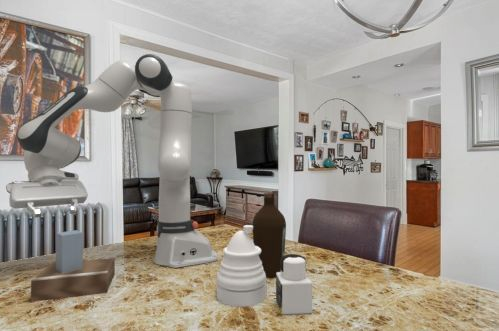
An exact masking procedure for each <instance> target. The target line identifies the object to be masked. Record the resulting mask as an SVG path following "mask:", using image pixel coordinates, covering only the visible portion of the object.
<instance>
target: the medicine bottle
mask: <svg viewBox="0 0 499 331" xmlns="http://www.w3.org/2000/svg"><path fill="white" fill-rule="evenodd" d="M275 283H276V284H275V300H276V304H277V306H278V309H279V311H280V313H281V315H302V314H303V315H304V314H313V281H312V280H311V279H310V278H309V277H308V275H307V259H306V257H305V256H303V255H301V254H296V253H287V254H285V255H284V256H282V257H281V272H277V273H276V277H275Z"/></svg>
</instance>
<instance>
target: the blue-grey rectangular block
mask: <svg viewBox="0 0 499 331" xmlns="http://www.w3.org/2000/svg"><path fill="white" fill-rule="evenodd" d="M55 235H56V236H55V237H56V238H55V243H56V244H55V252H56V253H55V263H56V270H58V271H59V272H60V273H62V274H63V273H67V272H71V271H75V270H79V269H83V261H84V254H83V253H84V232H82V231H80V230H77V229H75V230H67V231H60V232H56V234H55Z"/></svg>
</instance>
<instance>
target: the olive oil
mask: <svg viewBox="0 0 499 331" xmlns="http://www.w3.org/2000/svg"><path fill="white" fill-rule="evenodd" d="M263 193H264V194H263V195H264V197H263V205H262V207H261V208H260V209H259V210H258V211H257V212H256V213H255V214H254V216H253V219H252V226H253V230H252V238H253V239H252V241H253V243H254V245H255V246H258V247H259V248H261V253H260V254H259V258H260V260H261V261H262V266H263V269H264V272H265V274H266V278H276V273H277V272H281V257H282V256H284V255H286V253H285V252H286V237H287V236H286V235H287V222H286V218H285V216H284V214H283V213H282V212H281V211H280V210H279V209H278V208H277V206H276V205H275V193H274V192H263Z"/></svg>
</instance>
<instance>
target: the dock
mask: <svg viewBox="0 0 499 331" xmlns="http://www.w3.org/2000/svg"><path fill="white" fill-rule="evenodd" d="M115 259H116V257H111V258H99V259H87V260H83V269H79V270H75V271H71V272H67V273H63V274H62V273H60V272H59V271H58V270H56V262H53V263H50V264H49V265H48V266H47V267H45V268H44V269H43V270H42V271H40V273H39V274H37V275H36V276H35V277H33V278H31V279H30V302H38V301H39V302H40V301H47V300H54V299H56V300H57V299H63V298H64V299H65V298H73V297H81V296H90V295H99V294H100V295H101V294H107V293H108V291H109V289H110V286H111V285H112V284H111V283H112V282H113V279H114V276H115V272H116V270H115V267H116V266H115V264H116V263H115V262H116V261H115Z"/></svg>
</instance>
